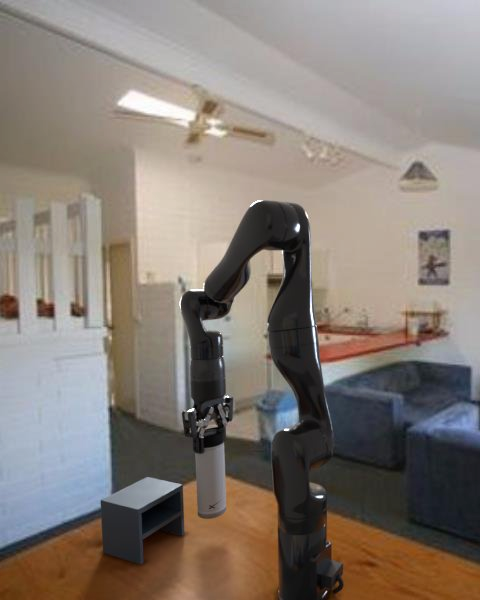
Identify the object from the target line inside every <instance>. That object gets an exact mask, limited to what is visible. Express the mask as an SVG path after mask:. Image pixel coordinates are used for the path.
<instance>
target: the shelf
mask: <svg viewBox="0 0 480 600" xmlns="http://www.w3.org/2000/svg"><path fill="white" fill-rule="evenodd" d="M99 501H100V519H101V536H102V537H101V539H102V553H103V554H105V555H108V556H112V557H116V558H119V559H121V560H124V561H128V562H131V563H135V564H138V565H142V564H143V563H144V541H143V540H144V539H146V538H148V537H149V536H151V535H152V534H154V533H156V532H157V531H159V530H160V531H163V532H166V533H169V534H170V533H171V534H174V535H177V536H184V535H185V533H186V532H185V505H184V485H183V484H182V483H177V482H172V481H168V480H164V479H159V478H154V477H150V476H146V477H144V478H142V479H140V480H138V481H136V482H134V483H132V484H130V485H128V486H126V487H124V488H121V489H120V490H118V491H115V492H114V493H112V494H110V495H108V496H106V497H103V498H101V499H100V500H99Z"/></svg>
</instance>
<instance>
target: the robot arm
mask: <svg viewBox="0 0 480 600" xmlns="http://www.w3.org/2000/svg"><path fill="white" fill-rule="evenodd" d="M311 235H312V234H311V225H310V220H309V216H308V214H307V211H306V210H305V209H304V207H303V206H302V205H301V204H298V203H296V202H289V201H279V200H269V199H267V200H266V199H261V200H257V201H255V202H253V203H252V204H251V205H250V206H249V207H248V208H247V210H246V211H245V213H244V215H243V216H242V217H241V220H240V222H239V224H238V226H237V228H236V230H235V233H234V234H233V236H232V238H231V240H230V242H229V245H228V247H227V248H226V251H225V252H224V255H223V256H222V257H221V260H220V261H219V262H218V263H217V265H216V266H215V267H214V268H213V269H212V270H211V272H210V273H209V274H208V276H207V277H205V280H204V282H203V285H202V286H203V287H202V288H203V289H189V290H187V291H185V292H183V294H182V296H181V297H180V300H179V311H180V315H181V317H182V320H183V322H184V325H185V328H186V332H187V336H188V339H189V355H190V360H189V361H190V362H189V386H190V388H189V389H190V398H191V399H192V401H193V406H192V408H191V409H188V410H183V411H182V412H181V419H182V426H183V434H184V437H187V438H191V439H192V451H193V452H194V454H195V453H198V454H202V453H203V452H204V437H203V434H204V431H205V429H208V428H209V424H210V422H211V421H212V420H213V421H214V423H215V425H216V427H222V428H223V429H224V437H223V438H224V443H226V440H227V426H228V423H231V422H233V420H234V419H233V417H234V416H233V415H234V397H233V396H229V395H227V381H226V363H225V356H224V336H223V334H222V332H221V331H220V330H215V329H207V328H206V327H205V325H204V321H214V320H221V319H223V318H225V317H226V316H227V315H229V313H230V311H231V309H232V306H233V304H234V301H235V298H236V296H238V295H239V293H240V292H241V291H243V289H244V288H245V287H246V285H247V284H248V283H249V281H250V278H251V275H252V266H251V265H252V264H251V259H252V258H253V257H254V256H255V255H257V254H259V253H260V252H262V251H271V252H272V251H280V252H281V255H282V277H281V283H280V286H279V288H278V291H277V293H276V295H275V298H274V299H273V302H272V304H271V307H270V308H269V309H270V310H269V312H268V315H267V320H266V330H267V338H268V339H267V340H268V348H269V353H270V354H269V355H270V358H271V361H272V362H273V364H274V366H275V368H276V369H277V370H278V372H279V374H280V375H281V376H282V378H283V379H284V380H285V381H286V382H287V384H288V386H289V387H290V388H291V390H292V393H293V395H294V397H295V402H296V406H297V407H296V408H297V412H298V422H297V423H295V424H291V425H289V426H287V427H285V428H282V429H280V430H279V431H277V432H276V433H275V434H274V436H273V438H272V440H271V444H270V446H271V447H270V465H271V466H270V467H271V477H272V490H273V495H274V498H275V501H276V506H277V507H276V508H277V564H278V565H277V566H278V567H277V568H278V574H277V575H278V591H277V593H278V594H277V596H278V600H324V599H325V598H326V597H327V595H328V594H329V592H330V591H331V590H332V589H333V590H332V594H333V595H337V594H338V593H339V592H341V591H342V589H343V588H344V585H345V584H344V583H345V582H344V580H343V578H342V576H343V575H344V563H343V562H341V561H337V560H333V559H332V555H333V552H332V551H333V550H332V549H333V548H332V545H333V544H332V542H331V541H329V540H328V494H327V490H326V489H325V488H324V486H323V485H321V484H319V483H316V482H311V481H310V473H311V472H314V471H315V470H317V469H319V468H321V467H323V466H324V465H326V464H328V463H329V462H330V461H331V460H332V458H333V456H334V454H335V449H336V439H335V434H334V433H335V431H334V427H333V423H332V418H331V413H330V409H329V404H328V400H327V395H326V390H325V389H326V388H325V384H324V376H323V369H322V362H321V361H322V360H321V352H320V341H319V333H318V332H319V331H318V324H317V317H316V309H315V301H314V289H313V281H312V280H313V278H312V239H311ZM337 583H338V586H337V587H335V586H336V585H337ZM334 587H335V588H334Z"/></svg>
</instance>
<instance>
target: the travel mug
mask: <svg viewBox="0 0 480 600" xmlns="http://www.w3.org/2000/svg"><path fill="white" fill-rule="evenodd" d="M203 437H204V452H203V453H202V454H198V453H195V452H194V455H195V456H194V457H195V458H194V459H195V480H196V481H195V483H196V484H195V485H196V506H197V509H196V511H197V516H198V517H199V518H201V519H205V520H212V519H216V518H219V517H221V516H222V515H224V514H225V513H226V511H227V492H226V491H227V488H226V487H227V485H226V484H227V483H226V460H225V459H226V458H225V457H226V455H225V442H224V438H223V437H224V429H223V428H222V427H217V426H215V427H207V428H205V431H204V434H203Z"/></svg>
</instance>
